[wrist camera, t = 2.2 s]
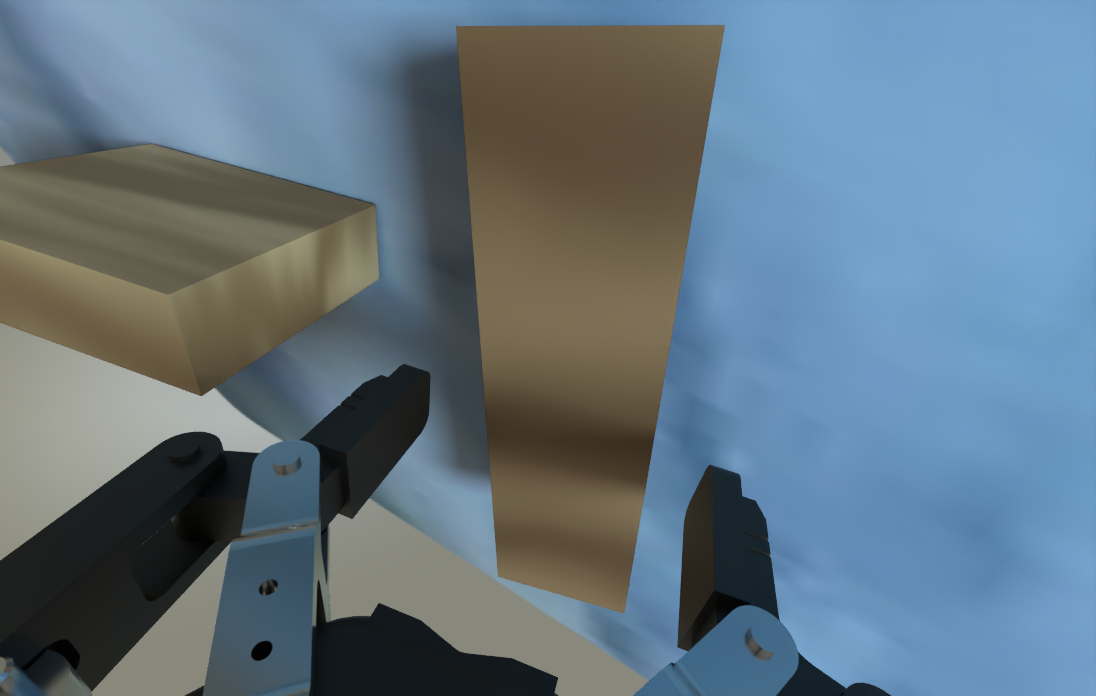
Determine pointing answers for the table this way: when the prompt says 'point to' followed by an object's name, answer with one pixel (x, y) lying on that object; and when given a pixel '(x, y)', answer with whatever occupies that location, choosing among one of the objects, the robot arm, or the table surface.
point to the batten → (579, 276)
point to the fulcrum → (174, 259)
